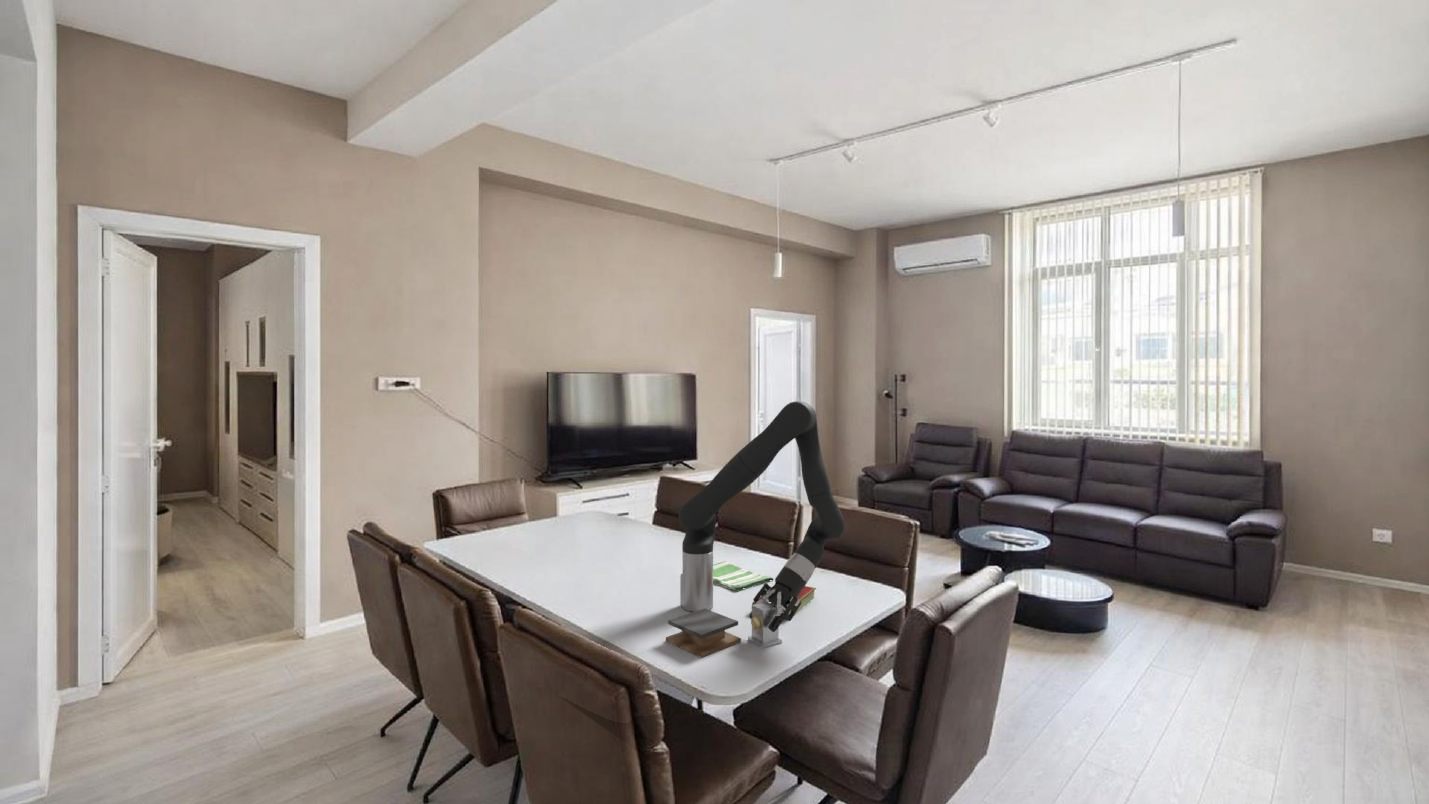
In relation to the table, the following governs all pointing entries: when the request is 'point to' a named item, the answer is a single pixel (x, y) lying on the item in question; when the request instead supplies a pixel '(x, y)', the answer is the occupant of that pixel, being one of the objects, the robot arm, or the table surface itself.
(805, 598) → the hardcover book
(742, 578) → the dish towel
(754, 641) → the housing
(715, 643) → the stand
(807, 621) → the table surface
